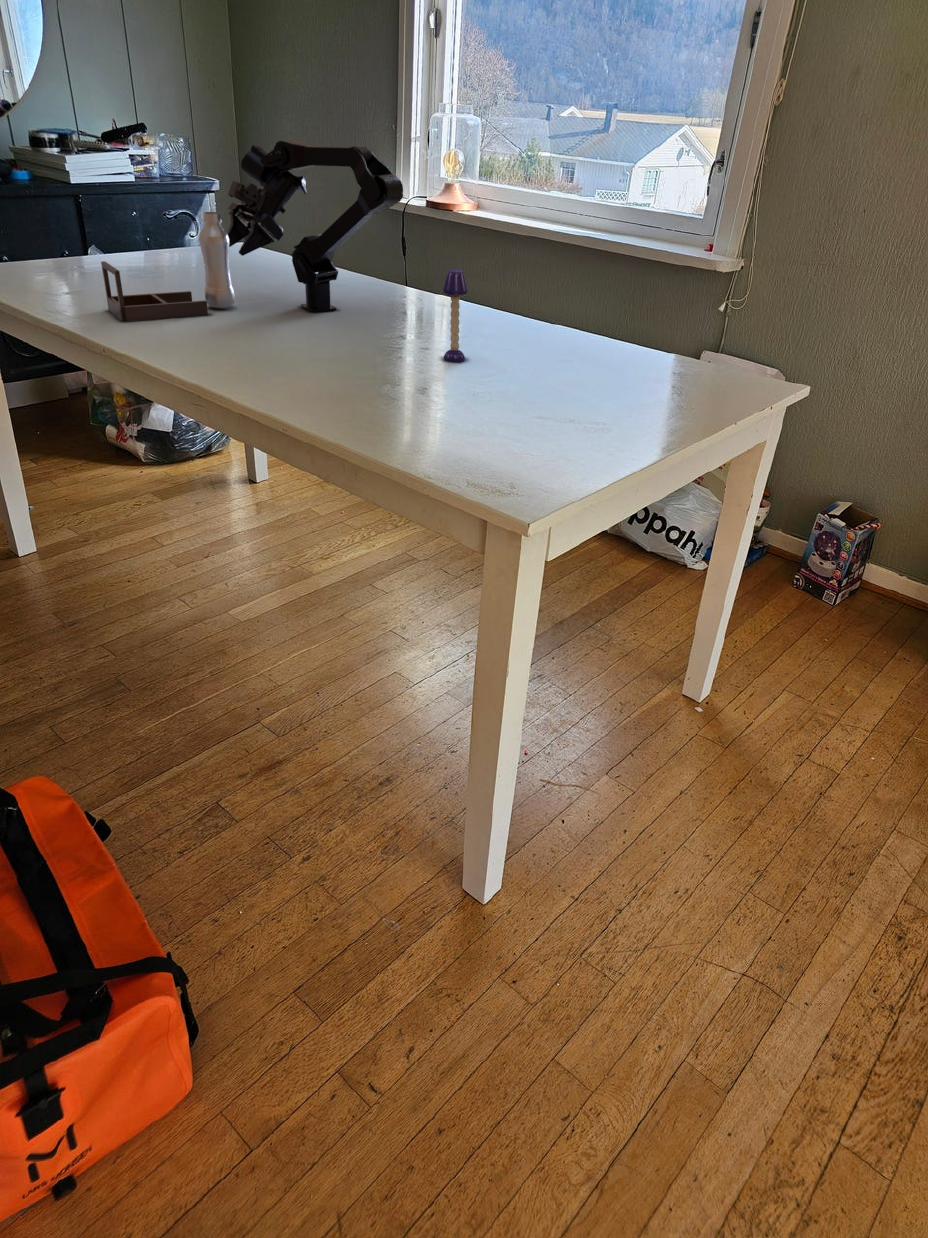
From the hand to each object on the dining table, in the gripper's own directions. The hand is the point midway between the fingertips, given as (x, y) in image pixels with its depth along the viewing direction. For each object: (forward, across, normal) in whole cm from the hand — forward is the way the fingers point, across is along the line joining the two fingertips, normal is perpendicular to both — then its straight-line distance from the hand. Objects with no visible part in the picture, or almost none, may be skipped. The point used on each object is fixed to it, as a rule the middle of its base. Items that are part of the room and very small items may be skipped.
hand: (232, 250), depth 192 cm
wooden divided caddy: (+21, 0, -4) cm, 22 cm away
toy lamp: (-7, +57, +24) cm, 63 cm away
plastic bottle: (+11, 0, +6) cm, 13 cm away
